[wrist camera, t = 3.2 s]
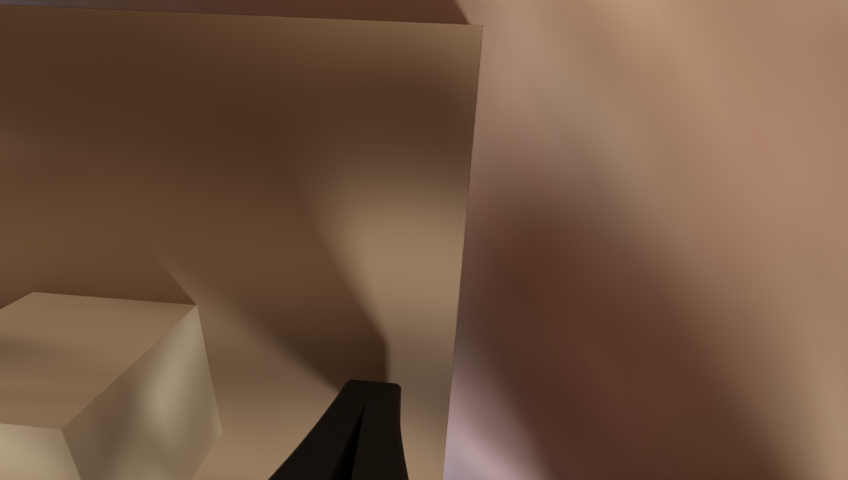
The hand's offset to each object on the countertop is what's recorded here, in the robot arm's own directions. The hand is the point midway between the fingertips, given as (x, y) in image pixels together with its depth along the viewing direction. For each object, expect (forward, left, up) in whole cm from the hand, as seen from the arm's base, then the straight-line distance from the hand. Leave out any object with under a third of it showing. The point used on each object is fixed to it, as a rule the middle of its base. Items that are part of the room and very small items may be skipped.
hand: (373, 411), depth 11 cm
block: (0, +7, -1) cm, 7 cm away
